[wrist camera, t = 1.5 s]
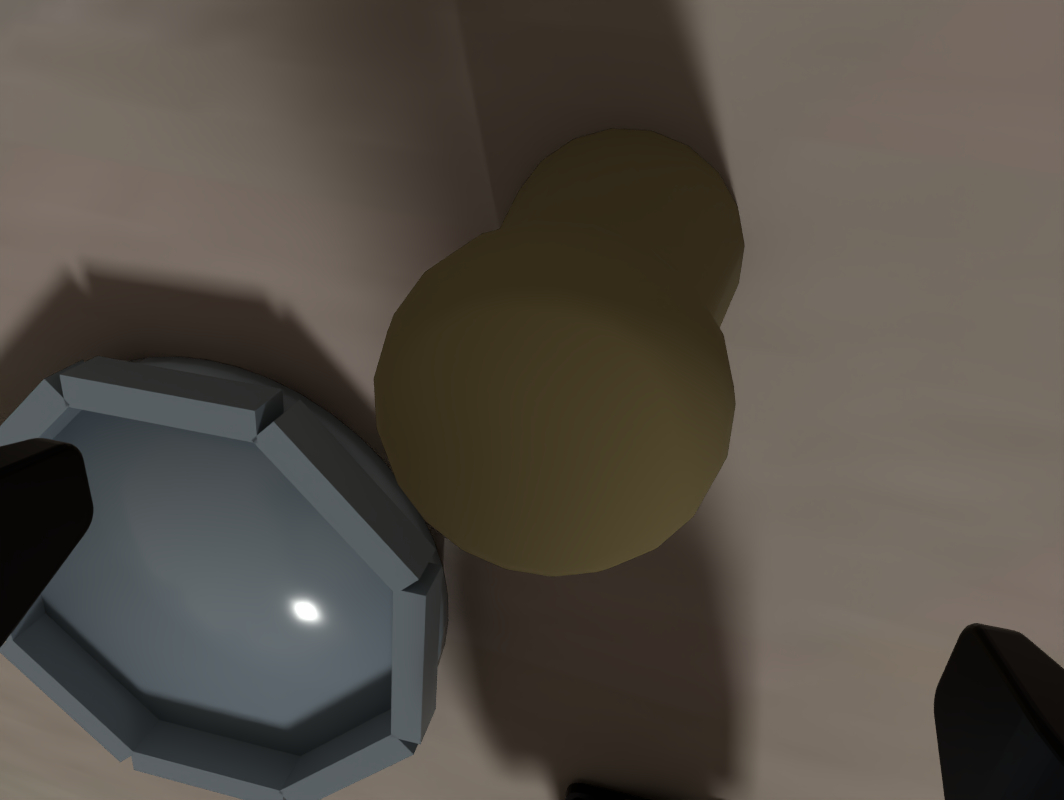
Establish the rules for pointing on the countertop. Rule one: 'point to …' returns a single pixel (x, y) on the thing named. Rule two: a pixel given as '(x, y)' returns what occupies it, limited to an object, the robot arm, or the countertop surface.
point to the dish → (232, 583)
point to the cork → (571, 362)
